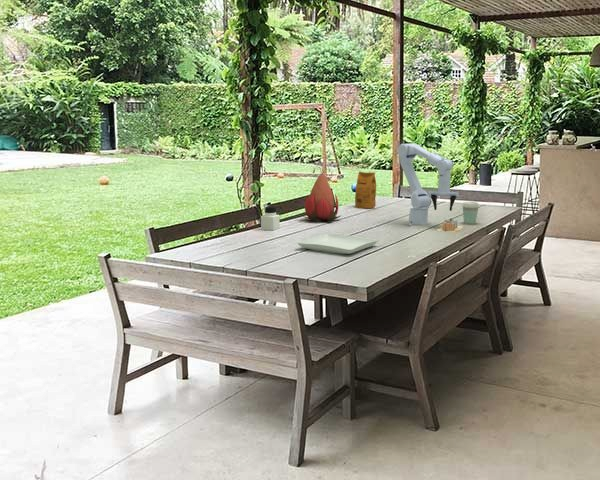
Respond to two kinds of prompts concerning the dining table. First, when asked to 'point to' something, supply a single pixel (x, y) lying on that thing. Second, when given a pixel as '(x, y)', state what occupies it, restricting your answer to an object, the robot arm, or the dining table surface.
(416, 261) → the dining table surface
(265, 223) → the medicine bottle
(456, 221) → the gear
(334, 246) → the square plate
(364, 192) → the coffee package
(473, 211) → the coffee cup
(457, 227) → the gear board
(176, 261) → the dining table surface
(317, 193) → the decorative flower
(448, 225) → the loose gear
